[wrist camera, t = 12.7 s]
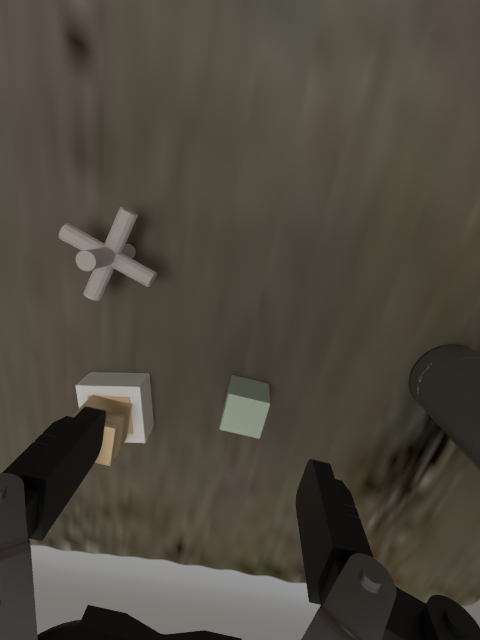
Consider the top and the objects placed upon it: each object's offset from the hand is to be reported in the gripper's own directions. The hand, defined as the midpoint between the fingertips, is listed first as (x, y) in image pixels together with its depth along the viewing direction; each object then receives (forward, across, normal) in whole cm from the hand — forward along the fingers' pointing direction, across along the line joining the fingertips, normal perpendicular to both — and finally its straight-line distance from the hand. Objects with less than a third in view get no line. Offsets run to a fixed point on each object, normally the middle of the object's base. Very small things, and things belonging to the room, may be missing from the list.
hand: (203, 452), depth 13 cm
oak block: (+24, +12, +18) cm, 33 cm away
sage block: (+28, -4, +13) cm, 31 cm away
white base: (+28, +12, +18) cm, 36 cm away
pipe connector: (+28, +14, -2) cm, 32 cm away
